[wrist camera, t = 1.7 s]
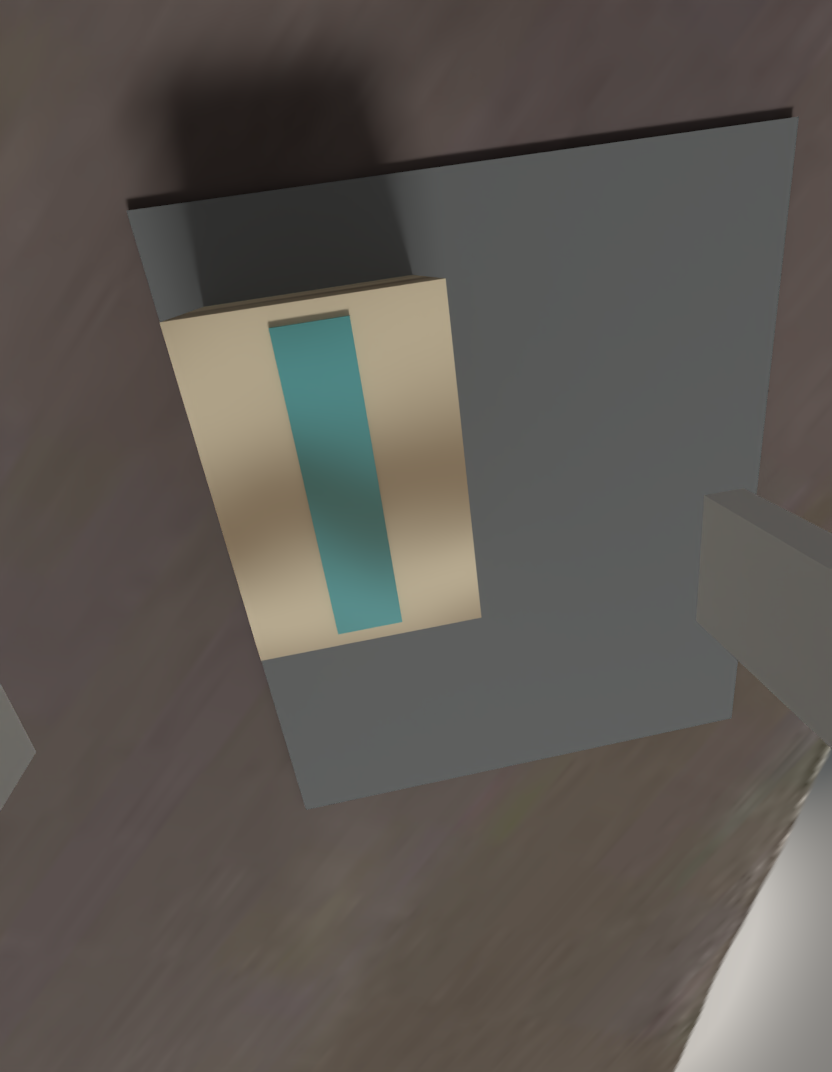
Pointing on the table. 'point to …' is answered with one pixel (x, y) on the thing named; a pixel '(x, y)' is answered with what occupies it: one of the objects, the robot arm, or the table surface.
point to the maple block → (334, 458)
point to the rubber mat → (536, 431)
